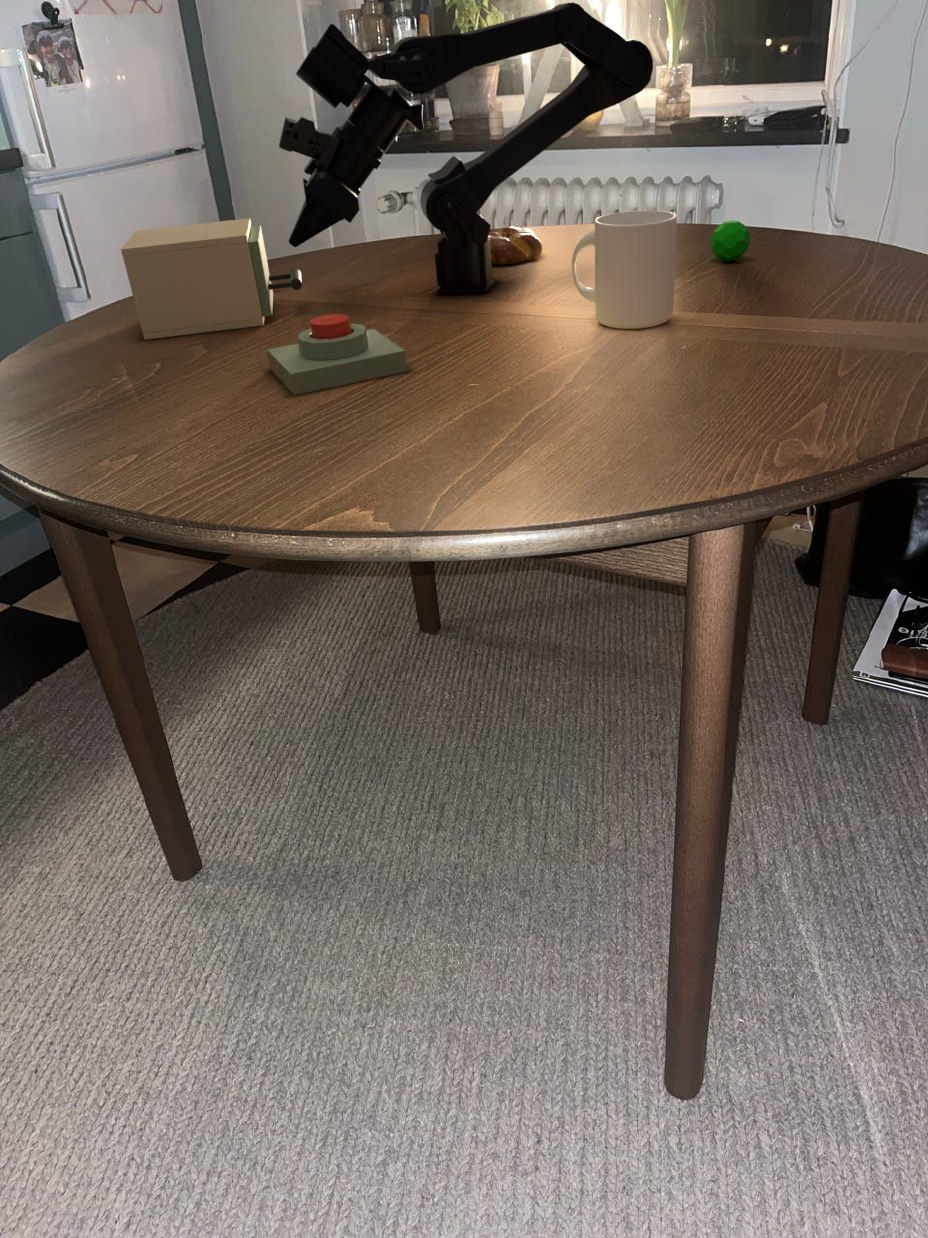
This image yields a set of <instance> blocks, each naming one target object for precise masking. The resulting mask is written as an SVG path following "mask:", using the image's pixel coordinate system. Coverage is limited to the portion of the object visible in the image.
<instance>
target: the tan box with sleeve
mask: <svg viewBox="0 0 928 1238" xmlns="http://www.w3.org/2000/svg"><path fill="white" fill-rule="evenodd" d="M251 226H252V221H251V218H250V217H247V218H239V219H229V220H220V221H212V222H203V223H194V224H193V223H192V224H184V225H176V226H166V227H157V228H149V229H141V230H135V231H134V232H133V233H132V235H131V236H130V237H129V238H128V239H127V241H126V242H125V243H124V245H123V246H122V247H121V248H120V251H121V257H122V259H123V263H124V267H125V271H126V275H127V278H128V282H129V286H130V290H131V294H132V298H133V301H134V306H135V309H136V313H137V317H138V320H139V324H140V329H141V332H142V336H143V340H144V341H147V340H155V339H164V338H171V337H179V336H187V335H196V334H204V333H211V332H212V333H213V332H221V331H228V330H237V329H245V328H246V329H247V328H254V327H261V326H262V327H263V326H265V317H263V316H262V311H261V306H260V301H259V296H258V290H257V285H256V280H255V275H254V269H253V264H252V259H251V254H250V249H249V243H248V242H249V236H250V231H251Z"/></svg>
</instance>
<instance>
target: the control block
mask: <svg viewBox="0 0 928 1238" xmlns="http://www.w3.org/2000/svg"><path fill="white" fill-rule="evenodd" d="M350 325H351V332H352V333H351V334H349V335H347V336H344V337H339V338H333V339H314V338H313V337H312V331H311V327H310V328H308V329H305V330H302V331H301V332H300V333H299V334H298V335H297V337H296V339H297V343H294V344H288V345H284V346H279V347H273V348H268V349H266V353H267V358H268V364H269V368H270V369H269V370H270V371H271V372H272V373H273V374H274V375H275V376H276V377H277V378H278V379H279V381H280V382H282V384H283V385H284V386H285V387H286V388H287V389H288V390H289V391H290V392H291V393H292V395H293V396H298V395H303V394H307V393H311V392H317V391H322V390H326V389H327V390H328V389H331V388H335V387H341V386H345V385H350V384H355V383H360V382H364V381H369V380H375V379H378V378H383V377H387V376H393V375H397V374H402V373H406V372H408V364H407V355H406V350H405V349H403V348H402V347H401V346H399V345H398V344H396V343H395V342H393V341H392V340H391V339H389V338H387V337H386V336H384V335H383V334H381V333H380V332H379V331H377V330H376V329H374V328H371V329H367V328H366V327H365V326H364V325H362V324H358V323H353V322H352V323H351V322H350Z"/></svg>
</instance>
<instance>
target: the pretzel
mask: <svg viewBox="0 0 928 1238" xmlns="http://www.w3.org/2000/svg"><path fill="white" fill-rule="evenodd" d="M489 236H490V248H491V264H492V265H511V264H512V265H513V264H519V263H522V262H525V261H527V260H528V261H530V260H535V259H538V257H540V256H541V254H542V252H543V245H542V242H541V240H540V238H538V237H537V236H536V233H535V232H534V231H533V230H532V229H530V228H526V227H525V228H520V227H516V226H505V227H502V228H500V229H499V230H498V231H496V232H495V231H490V232H489Z"/></svg>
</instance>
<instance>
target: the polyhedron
mask: <svg viewBox="0 0 928 1238" xmlns="http://www.w3.org/2000/svg"><path fill="white" fill-rule="evenodd" d="M750 242H751V235H750V232H749V230H748V228H747V227H746V225H745V224H743V223H742V222H740V221H739V220H727V221H724V222H722V223H721V224H719V225H718V226H717V227H716V229H714V231H713V232H712V235H711V237H710V248H711V250H712V253H713V254H714V256H715V257H716V258H717V259H719V260H721V261H723V262H733V261H737V260H739V259H740V258H742V257H743V256H744V255H745V253H746V252H747V251H748V249H749V247H750Z"/></svg>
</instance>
